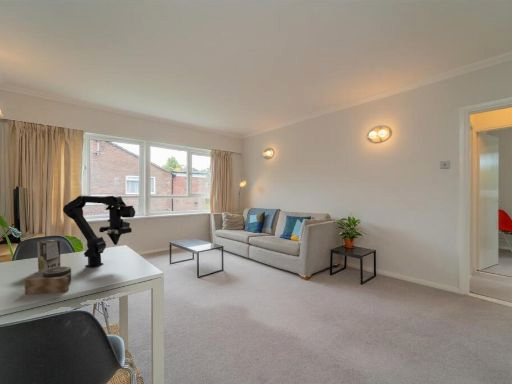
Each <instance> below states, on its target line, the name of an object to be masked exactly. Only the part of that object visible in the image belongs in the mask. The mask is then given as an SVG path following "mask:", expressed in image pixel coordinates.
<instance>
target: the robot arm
mask: <svg viewBox="0 0 512 384" xmlns="http://www.w3.org/2000/svg"><path fill="white" fill-rule="evenodd" d="M87 203H89V204H102V205H105V206H107V207H106V208H104V210H105V211H108V213H109V216H108V217H109V219H107V222H108V223H109V225H104V226H100V228H99V233H105V232H106V231H107V233H106V235H108V237H109V238H110V240H111V241H112V244H114V246H115V245H116V246H117V245H118V244H119V240H120V237H121V236H122V235H125V234H129V233H133V232H132V228H131V226H130V225H131V223H130V222H128V221H127V222H126V221H124V218H126V219H127V218H128V219H129V218H134V217H135V216H136V210H135V208H134V205H127V204H126V203H125V202H124V200H123V198H122V197H121V195H108V196H99V195H98V196H97V195H95V196H93V195H86V194H85V195H78V196H76V198H74V199H72V200H71V201H70V202H68V203H67V204H65V205H64V206H63V209H62V212H63V213H64V214H65V215H66V216H67V218H70V219H71V220H73V221H74V223H75V224H76V226H77V227H78V229H79V230H80V232H81V233H82V235H83V238H85V240H86V246H87V249H86V250H85V252H84V253H83V255H84V258H87V264H85V265H84V266H85V267H88V268H96V267H98V266H102V265H104V263H103V262H102V255H101V254H103V253H104V251H105V249H106V247H107V244H106V242H107V241H105V240H104V237H102V236H100V237H99V236H98V235H96V233H95V232H94V230H93V229H92V227H91V225H90V224H89V222H88V221H87V219H86V218H85V217H84V210H83V208H84V207H85V206H86V204H87Z"/></svg>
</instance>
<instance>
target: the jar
mask: <svg viewBox="0 0 512 384" xmlns="http://www.w3.org/2000/svg"><path fill="white" fill-rule="evenodd" d="M43 277H68V281H69V285H71V282H72V267H70V266H60V267H56V268H52V269H48V270H46V271H44V272H42V278H43Z"/></svg>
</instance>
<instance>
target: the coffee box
mask: <svg viewBox="0 0 512 384" xmlns="http://www.w3.org/2000/svg"><path fill="white" fill-rule="evenodd" d="M37 262H38V263H37V265H38V266H37V270H38V272H39V273H43V272H44V271H46V270H48V269H52V268H56V267H61V241H60V240H57V239H47V240H42V241H37Z"/></svg>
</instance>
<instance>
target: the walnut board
mask: <svg viewBox="0 0 512 384" xmlns="http://www.w3.org/2000/svg"><path fill="white" fill-rule="evenodd" d="M69 285H70V284H69V281H68V277H43V276H42V277H28V278H25V279H24V294H25V295H31V294H32V295H35V294H50V293H51V294H53V293H55V294H56V293H66V292H68V291H69V289H70V287H69Z"/></svg>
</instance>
